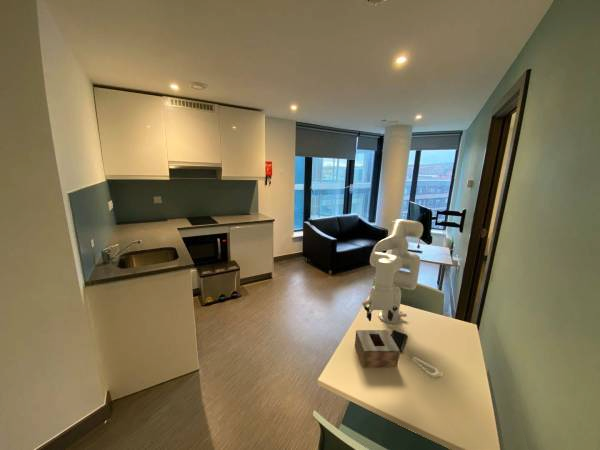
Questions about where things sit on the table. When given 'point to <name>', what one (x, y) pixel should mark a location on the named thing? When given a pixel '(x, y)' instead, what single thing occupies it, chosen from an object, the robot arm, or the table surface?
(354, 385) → the table surface
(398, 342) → the phone
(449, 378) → the table surface
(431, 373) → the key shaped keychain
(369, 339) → the box
